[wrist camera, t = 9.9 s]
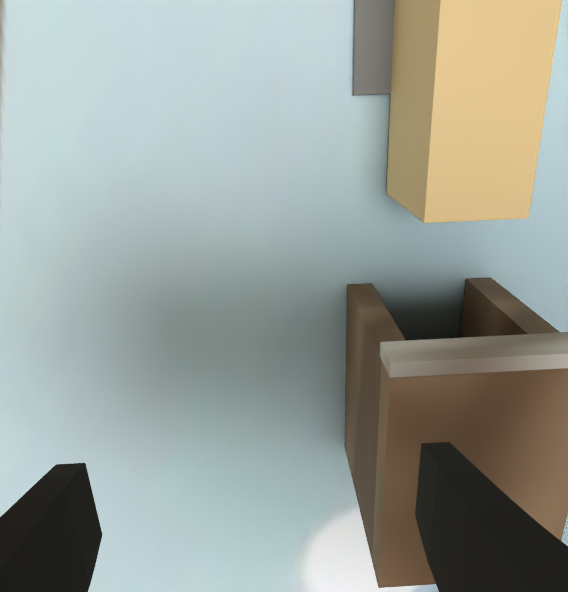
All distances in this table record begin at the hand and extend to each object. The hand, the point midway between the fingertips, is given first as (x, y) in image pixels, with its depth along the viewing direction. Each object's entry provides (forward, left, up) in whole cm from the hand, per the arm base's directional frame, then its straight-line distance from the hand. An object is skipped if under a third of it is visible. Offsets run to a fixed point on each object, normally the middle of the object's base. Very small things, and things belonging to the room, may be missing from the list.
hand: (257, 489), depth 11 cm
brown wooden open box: (-4, +6, -10) cm, 12 cm away
